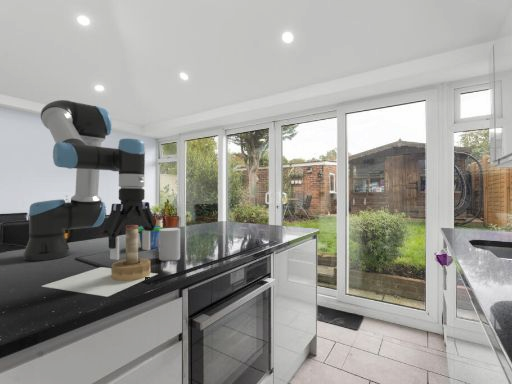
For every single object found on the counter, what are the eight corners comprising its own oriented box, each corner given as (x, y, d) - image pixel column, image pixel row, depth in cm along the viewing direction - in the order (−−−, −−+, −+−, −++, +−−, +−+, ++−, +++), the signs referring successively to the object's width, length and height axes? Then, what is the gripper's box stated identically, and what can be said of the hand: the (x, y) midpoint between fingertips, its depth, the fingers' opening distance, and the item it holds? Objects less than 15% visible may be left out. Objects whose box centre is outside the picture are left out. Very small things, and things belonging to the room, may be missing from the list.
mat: (40, 287, 76) (40, 286, 76) (100, 268, 95) (100, 267, 95) (107, 298, 69) (107, 296, 69) (158, 275, 88) (158, 273, 88)
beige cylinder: (122, 276, 85) (123, 225, 85) (131, 273, 89) (131, 224, 88) (132, 277, 84) (132, 226, 84) (140, 274, 87) (140, 225, 87)
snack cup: (139, 252, 120) (139, 229, 120) (128, 248, 127) (128, 227, 127) (170, 246, 132) (170, 226, 132) (158, 243, 139) (158, 224, 139)
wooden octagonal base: (103, 278, 83) (103, 265, 83) (130, 268, 93) (130, 257, 93) (132, 282, 79) (132, 269, 79) (157, 272, 90) (157, 260, 90)
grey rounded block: (183, 256, 112) (183, 228, 112) (175, 261, 104) (175, 231, 104) (164, 256, 113) (164, 227, 113) (155, 261, 105) (155, 230, 105)
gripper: (109, 187, 73) (108, 265, 73) (165, 188, 97) (165, 247, 97) (88, 187, 75) (87, 262, 75) (148, 188, 99) (148, 245, 99)
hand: (131, 254), depth 86 cm, fingers open, 13 cm apart
